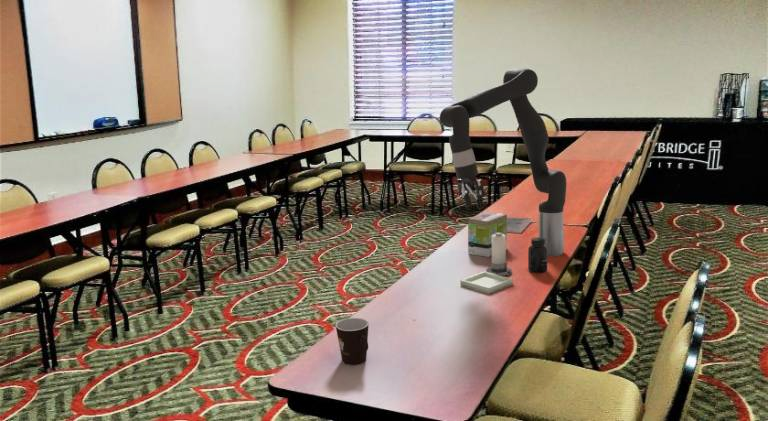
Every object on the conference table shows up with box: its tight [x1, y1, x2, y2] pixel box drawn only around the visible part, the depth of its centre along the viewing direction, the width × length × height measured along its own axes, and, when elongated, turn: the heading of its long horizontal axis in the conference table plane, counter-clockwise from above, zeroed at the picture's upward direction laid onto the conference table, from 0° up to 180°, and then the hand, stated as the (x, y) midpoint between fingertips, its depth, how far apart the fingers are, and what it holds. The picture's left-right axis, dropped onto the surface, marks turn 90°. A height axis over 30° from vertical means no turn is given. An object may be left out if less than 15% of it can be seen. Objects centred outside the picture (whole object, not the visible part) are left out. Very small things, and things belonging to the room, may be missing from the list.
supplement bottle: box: [527, 236, 549, 274], centre depth 235 cm, size 7×7×12 cm
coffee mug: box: [335, 317, 369, 366], centre depth 169 cm, size 12×9×10 cm
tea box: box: [467, 211, 508, 258], centre depth 261 cm, size 15×10×15 cm
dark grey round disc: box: [485, 261, 513, 277], centre depth 235 cm, size 9×9×4 cm
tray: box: [459, 271, 514, 295], centre depth 223 cm, size 13×13×2 cm
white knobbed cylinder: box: [491, 233, 507, 264], centre depth 233 cm, size 5×5×11 cm
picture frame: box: [507, 216, 532, 234], centre depth 301 cm, size 16×2×22 cm
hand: (475, 207), depth 227 cm, fingers open, 8 cm apart
